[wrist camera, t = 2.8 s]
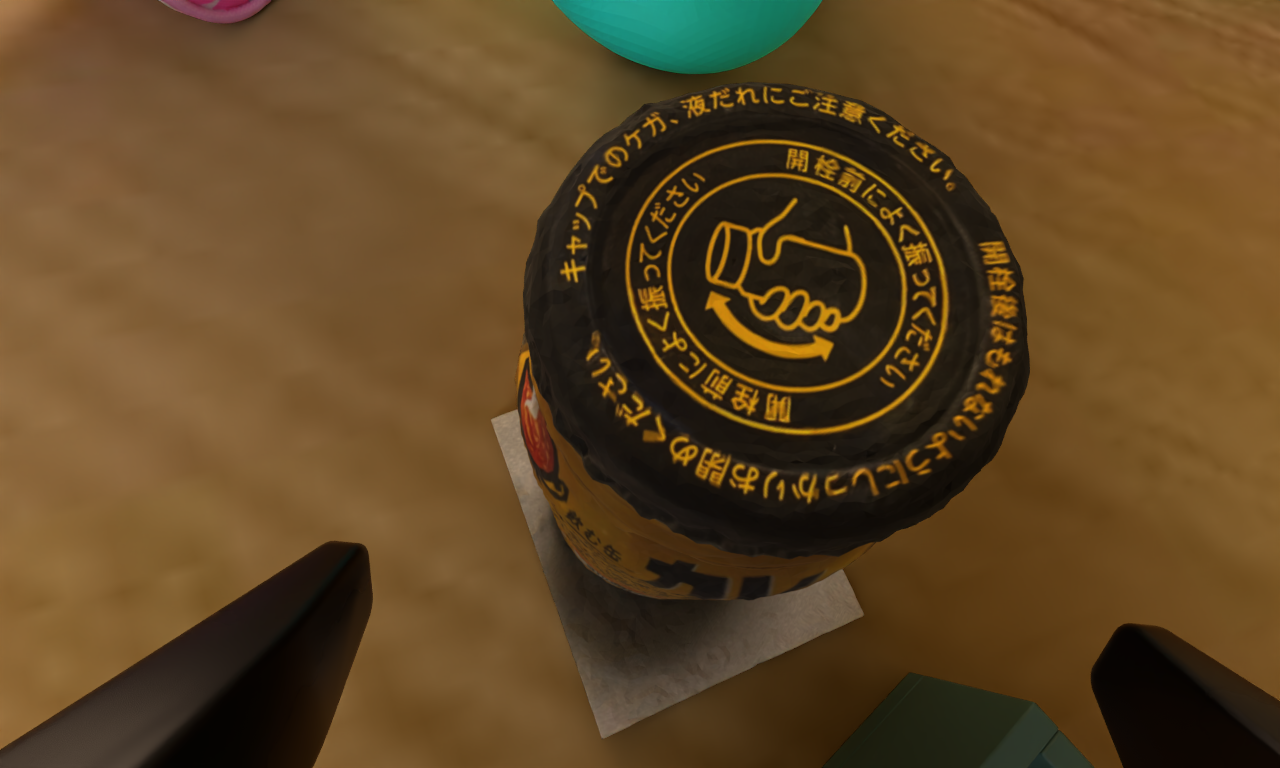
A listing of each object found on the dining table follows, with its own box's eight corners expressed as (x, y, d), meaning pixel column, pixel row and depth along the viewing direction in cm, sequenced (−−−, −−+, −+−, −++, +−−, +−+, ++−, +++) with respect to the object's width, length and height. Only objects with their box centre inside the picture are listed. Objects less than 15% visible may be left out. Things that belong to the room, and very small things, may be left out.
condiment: (727, 335, 19) (919, -50, 8) (862, 615, 17) (1413, 653, 5) (491, 421, 18) (305, 111, 6) (601, 737, 16) (615, 1115, 4)
